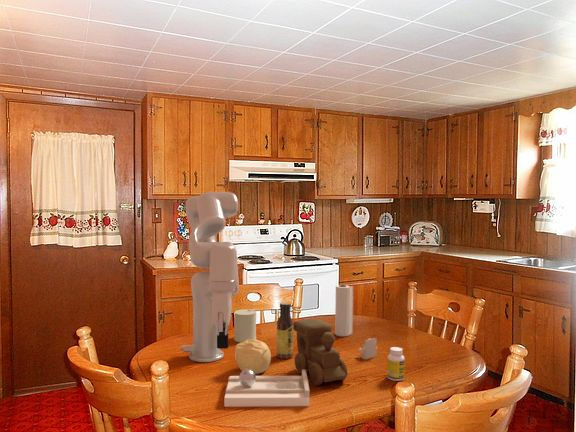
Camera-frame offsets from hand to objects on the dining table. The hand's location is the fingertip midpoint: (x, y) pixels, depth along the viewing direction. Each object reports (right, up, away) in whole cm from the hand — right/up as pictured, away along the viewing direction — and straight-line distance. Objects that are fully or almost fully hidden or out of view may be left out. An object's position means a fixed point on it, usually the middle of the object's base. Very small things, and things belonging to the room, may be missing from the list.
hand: (222, 347), depth 136 cm
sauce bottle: (+18, -14, +35) cm, 41 cm away
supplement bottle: (+55, -15, +15) cm, 59 cm away
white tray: (+13, -15, +2) cm, 20 cm away
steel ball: (+7, -9, +1) cm, 12 cm away
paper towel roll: (+43, -13, +62) cm, 77 cm away
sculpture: (+8, -14, +20) cm, 26 cm away
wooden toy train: (+30, -14, +16) cm, 37 cm away
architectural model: (+49, -14, +35) cm, 62 cm away
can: (+2, -13, +55) cm, 57 cm away
